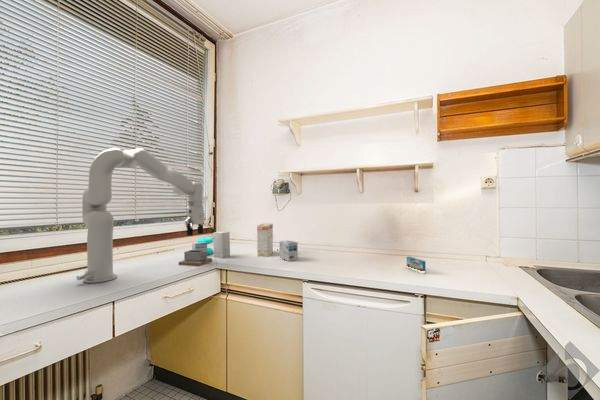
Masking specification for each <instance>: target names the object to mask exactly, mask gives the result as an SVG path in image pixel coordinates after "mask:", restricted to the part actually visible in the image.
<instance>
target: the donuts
mask: <svg viewBox="0 0 600 400" xmlns="http://www.w3.org/2000/svg"><path fill="white" fill-rule="evenodd" d="M200 242H206V243H207V245H210V244H212V243H213V238H211V237H200V238H198V239H196V243H200ZM211 254H214V249H213V248H211V247H207V256H208V255H211Z"/></svg>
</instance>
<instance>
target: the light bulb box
mask: <svg viewBox="0 0 600 400" xmlns="http://www.w3.org/2000/svg"><path fill="white" fill-rule="evenodd" d="M298 243H299V242H298V241H293V240H288V239H287V240H279V259H280V258H282V259H281V260H283V259H285V260H284V261H286V260H287V262H292V260H295V261H298V259H299V258H298V257H299V255H298V252H299V251H298V250H299V249H298V248H299V247H298V245H299V244H298Z"/></svg>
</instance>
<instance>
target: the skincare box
mask: <svg viewBox="0 0 600 400" xmlns="http://www.w3.org/2000/svg"><path fill="white" fill-rule="evenodd" d="M212 236H213V238H212V239H213V242H212V243H213V258H218V259H225V257H227V258H230V257H231V243H230V242H231V239H230V238H231V237H230V231H222V230H221V231H216V232H213V233H212ZM229 256H230V257H229Z"/></svg>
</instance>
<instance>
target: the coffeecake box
mask: <svg viewBox="0 0 600 400" xmlns="http://www.w3.org/2000/svg"><path fill="white" fill-rule="evenodd" d="M273 225H274V224H273V223H267V222H266V223H261V224H258V225H257V226H256V234H257V235H256V239H257V241H256V243H257V246H256V250H257V253H256V255H257V257H260V256H268V255H269V256H270V255H271V254H273V252H274V248H273V247H274V242H273V241H274V236H273V234H274V229H273V228H274V226H273ZM269 256H268V257H269Z"/></svg>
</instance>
